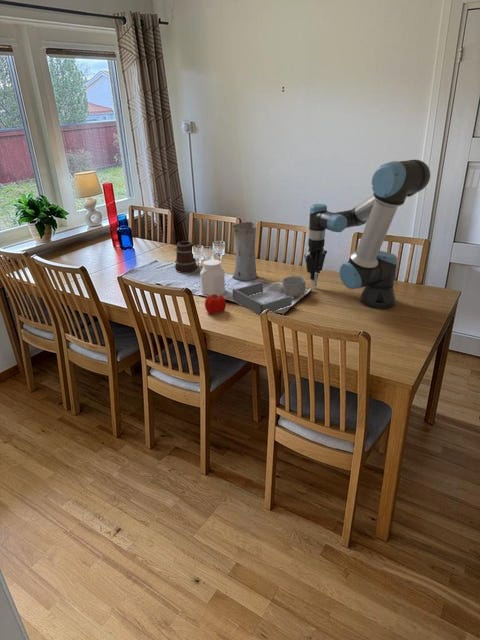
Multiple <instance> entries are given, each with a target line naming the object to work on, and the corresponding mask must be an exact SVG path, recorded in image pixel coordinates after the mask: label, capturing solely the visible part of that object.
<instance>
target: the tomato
mask: <svg viewBox="0 0 480 640" xmlns="http://www.w3.org/2000/svg"><path fill="white" fill-rule="evenodd" d="M226 306H227V301H226V299H225V297H224V295H223V294H222V295H219V296H217V295H216V294H213V295H208V296H207V297H206V298H205V300H204V309H205V310H206V312H208V313H209V314H210V315H211V314H212V315H216V314H221V313H224V312H225V310H226Z"/></svg>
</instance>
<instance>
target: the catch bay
mask: <svg viewBox="0 0 480 640" xmlns="http://www.w3.org/2000/svg"><path fill="white" fill-rule="evenodd" d="M231 290H232V301H234V300H235V301H234V302H236V301H237V302H238V304H239V305H241V306H243V307H245V308H246V309H249V310H250V311H252V312H254V313H255V314H257V315H258V316H260V314H261V313H262V312H263V311H264V310H266V309H269V310H270V311H273V313H275V312H274V311H276V310H278V309H280V308H284V307H287V306H290V305H292V303H293V300H292V299H293V298H292V296H291V295H290V296H287V295H286V296H284V297H280V298H278V299H275V300H271V301H268V302H264V303H262V302H260V301H258V300H256V299H254V298H253V297H251V296H254V295H253V294H255V295H257V294H256V293H258V294H260V293H259V292H261V293H264V282H263V281H260V282H256V283H252V284H249V285H245V286H241V287H238V288H232V289H231ZM250 295H251V296H250ZM237 302H236V303H237ZM276 312H277V311H276Z"/></svg>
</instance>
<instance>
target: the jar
mask: <svg viewBox="0 0 480 640" xmlns="http://www.w3.org/2000/svg"><path fill="white" fill-rule="evenodd" d="M202 264H203V268H202V269H201V271H200V272H199V273H200V274H199V275H200V283H201V284H200V285H201V286H200V287H201V294H202V295H208V296H211V295H213V294H216V295H217V296H218V295H222V296H223V295H224V294H225V293H226V285H225V282H226V279H225V270H224V269H223V267H222V263H221V261H220V260H218V259H206V260H205V261H203V262H202ZM223 293H224V294H223Z"/></svg>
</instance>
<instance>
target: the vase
mask: <svg viewBox="0 0 480 640" xmlns="http://www.w3.org/2000/svg"><path fill="white" fill-rule="evenodd" d="M232 229H233V233H234V234H233V235H234V241H235V243H234V244H235V267H234V271H233V274H232V279H234V280H237V281H241V282H252V281H255V280H257V279H258V273H257V267H256V266H257V265H256V264H257V263H256V235H257V234H256V233H257V226H256V225H255V223H253V222H251V221H246V222H239V223H236V224H234V225H232Z"/></svg>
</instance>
